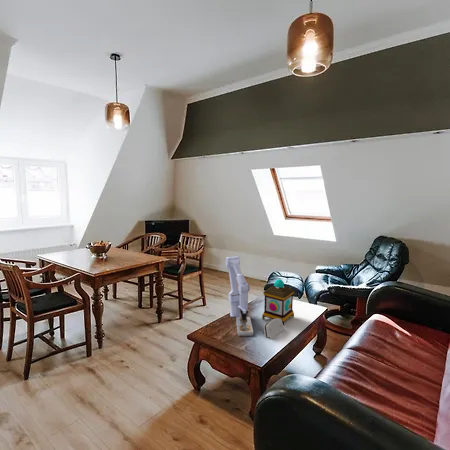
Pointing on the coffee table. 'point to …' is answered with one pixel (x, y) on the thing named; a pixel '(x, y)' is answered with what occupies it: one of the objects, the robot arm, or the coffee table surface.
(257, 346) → the coffee table surface
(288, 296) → the decorative lantern
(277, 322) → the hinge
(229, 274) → the robot arm
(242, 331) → the peg-in-hole board
